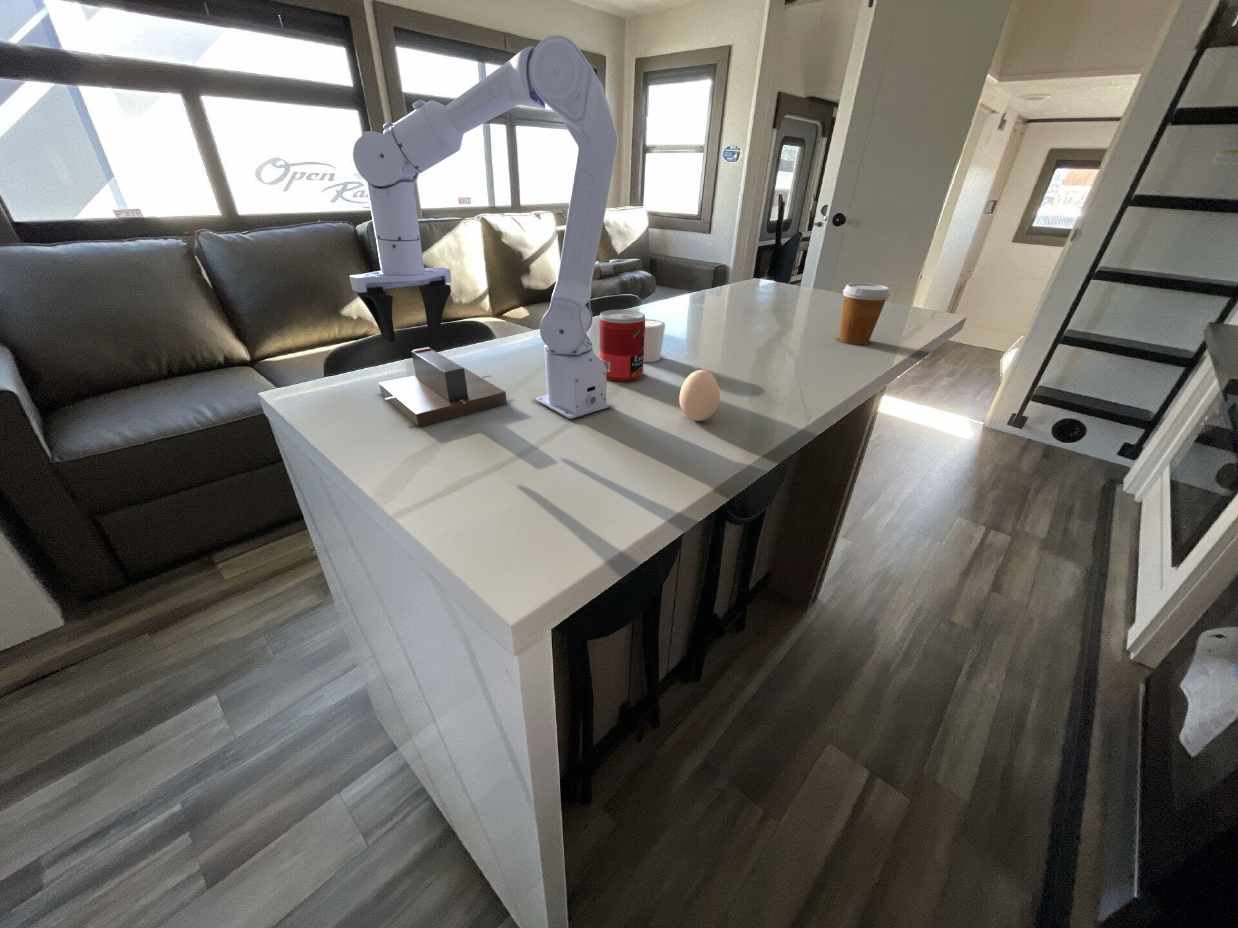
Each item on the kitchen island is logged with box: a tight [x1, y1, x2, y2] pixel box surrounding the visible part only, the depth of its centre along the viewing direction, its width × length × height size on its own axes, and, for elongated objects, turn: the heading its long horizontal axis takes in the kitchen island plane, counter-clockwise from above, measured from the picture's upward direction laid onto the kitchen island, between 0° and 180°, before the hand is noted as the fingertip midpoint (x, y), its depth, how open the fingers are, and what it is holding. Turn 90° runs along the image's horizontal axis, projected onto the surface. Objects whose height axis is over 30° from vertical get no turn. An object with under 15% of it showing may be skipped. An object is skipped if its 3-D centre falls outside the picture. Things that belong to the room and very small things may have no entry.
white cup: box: [643, 318, 666, 363], centre depth 98 cm, size 7×7×7 cm
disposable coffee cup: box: [838, 282, 890, 345], centre depth 110 cm, size 10×10×12 cm
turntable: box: [378, 365, 508, 428], centre depth 78 cm, size 17×17×2 cm
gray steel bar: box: [411, 346, 468, 401], centre depth 76 cm, size 13×3×5 cm, turn 40°
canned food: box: [599, 309, 646, 383], centre depth 87 cm, size 8×8×11 cm
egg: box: [678, 369, 721, 422], centre depth 71 cm, size 6×6×8 cm
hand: (412, 336), depth 75 cm, fingers open, 7 cm apart
